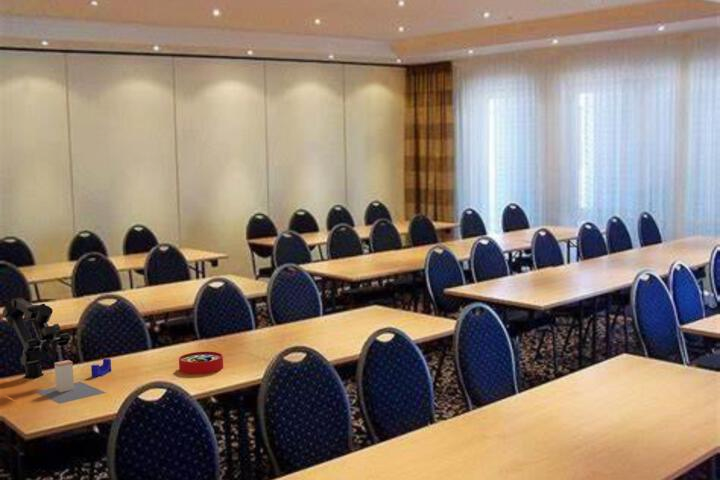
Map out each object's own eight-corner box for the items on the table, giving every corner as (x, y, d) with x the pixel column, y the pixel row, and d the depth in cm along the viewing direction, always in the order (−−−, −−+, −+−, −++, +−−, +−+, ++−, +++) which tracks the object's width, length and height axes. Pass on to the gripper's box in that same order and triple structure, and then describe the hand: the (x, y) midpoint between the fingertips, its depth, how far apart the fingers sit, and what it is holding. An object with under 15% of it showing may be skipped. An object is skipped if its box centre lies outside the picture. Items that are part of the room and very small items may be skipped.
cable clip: (102, 371, 376) (101, 358, 376) (111, 371, 375) (110, 358, 375) (88, 378, 365) (88, 365, 364) (98, 378, 364) (97, 365, 363)
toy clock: (170, 357, 375) (205, 349, 390) (170, 370, 376) (206, 361, 390) (196, 364, 361) (231, 355, 376) (196, 377, 362) (232, 368, 377)
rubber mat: (35, 393, 343) (34, 391, 343) (80, 383, 357) (80, 381, 357) (59, 405, 326) (59, 403, 326) (106, 393, 340) (106, 392, 340)
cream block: (56, 390, 344) (54, 362, 343) (70, 387, 348) (68, 359, 347) (60, 392, 341) (58, 364, 340) (74, 389, 346) (72, 361, 344)
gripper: (25, 322, 346) (37, 351, 339) (67, 315, 359) (80, 343, 352) (19, 337, 352) (31, 366, 346) (61, 330, 365) (73, 358, 359)
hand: (54, 358), depth 350 cm, fingers closed
